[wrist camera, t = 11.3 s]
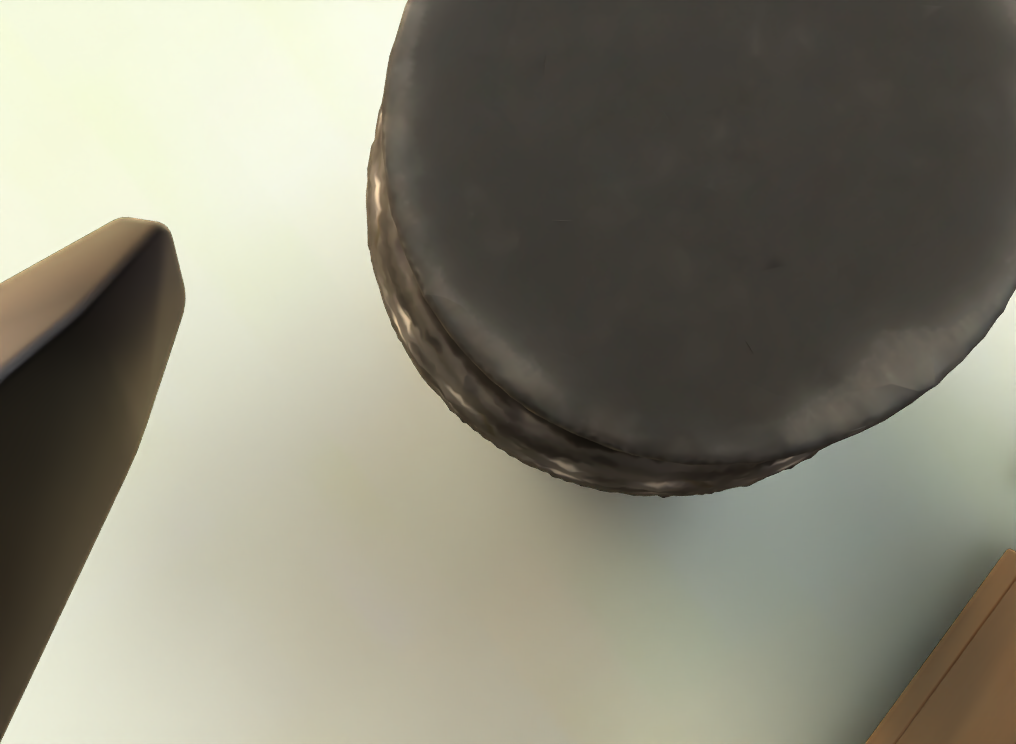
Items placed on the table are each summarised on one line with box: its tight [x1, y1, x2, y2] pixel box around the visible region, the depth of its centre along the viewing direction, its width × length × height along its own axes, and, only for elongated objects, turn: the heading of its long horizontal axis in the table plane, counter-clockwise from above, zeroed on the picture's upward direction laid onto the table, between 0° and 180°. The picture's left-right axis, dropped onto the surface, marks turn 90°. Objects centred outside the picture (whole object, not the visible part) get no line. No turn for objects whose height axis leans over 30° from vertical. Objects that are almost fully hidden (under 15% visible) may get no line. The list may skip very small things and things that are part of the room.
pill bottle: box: [366, 0, 1016, 498], centre depth 12 cm, size 6×6×11 cm
